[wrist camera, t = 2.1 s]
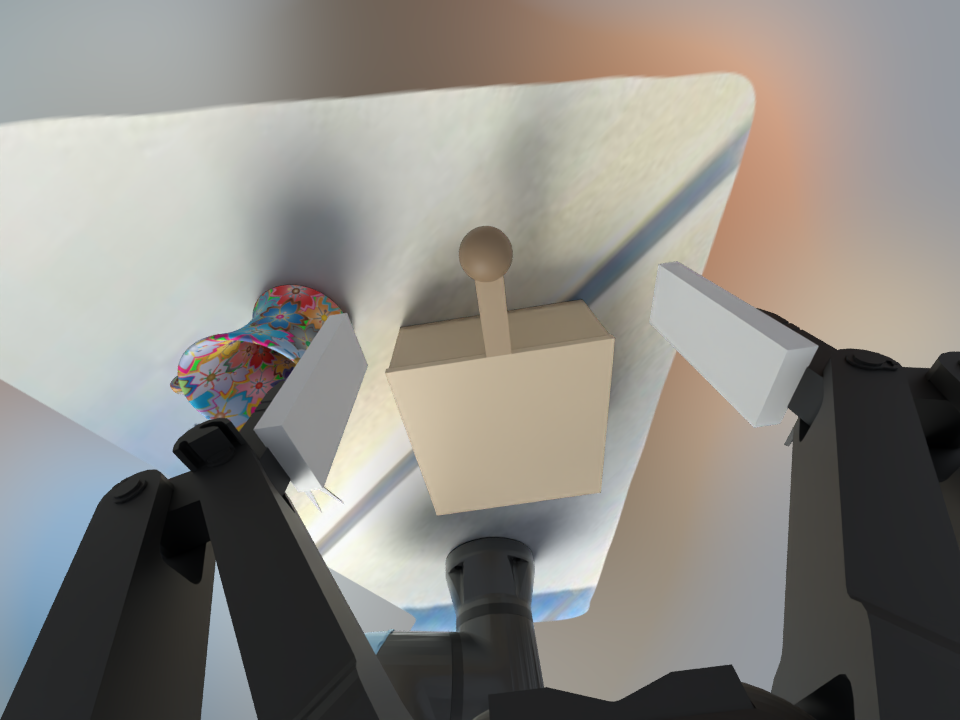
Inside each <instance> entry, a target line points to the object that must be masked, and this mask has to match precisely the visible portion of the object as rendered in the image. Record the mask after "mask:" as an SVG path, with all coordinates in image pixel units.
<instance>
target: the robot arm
mask: <svg viewBox="0 0 960 720" xmlns="http://www.w3.org/2000/svg"><path fill="white" fill-rule="evenodd" d="M649 323H650V324H651V325H652V326H653V327H654V328H655V329H656V330H657V331H658V332H659V333H660V334H661V335H662V336H663V337H664V338H665V339H666V340H667V341H668V342H669V343H670V344H671V345H672V346H673V347H674V348H675V349H676V350H677V351H678V352H679V353H680V354H681V355H682V356H683V357H684V358H685V359H686V360H687V361H688V362H689V363H690V364H691V365H692V366H693V367H694V368H695V369H696V370H697V371H698V372H699V373H700V374H701V375H702V376H703V377H704V378H705V379H706V380H707V381H708V382H709V383H710V384H711V385H712V386H713V387H714V388H715V389H716V390H717V391H718V392H719V393H720V394H721V395H722V396H723V397H724V398H725V399H726V400H727V401H728V402H729V403H730V404H731V405H732V406H733V407H734V408H735V409H736V410H737V411H738V412H739V413H740V414H741V415H742V416H743V417H744V418H745V419H746V420H747V421H748V422H749V423H750V424H751V425H752V426H753V427H762V426H769V425H776V424H780V423H781V421H782V419H783V417H784V415H785V413H786V411H787V409H788V408H789V409H790V410H791V411H792V412H794V413H795V414H796V415H797V416H798V419H797V421H796V423H795V425H794V427H793V429H792V431H791V433H790V435H789V436H788V439H787V440H786V442H785V444H784V445H786V446H789V445H790V444H791V442H793V451H792V472H791V492H790V512H789V531H788V551H787V571H786V590H785V611H784V631H783V649H782V656H781V661H780V664H779V667H778V669H777V672H776V675H775V677H774V681H773V686H772V690H771V693H770V692H768V691H765V690H763V689H761V688H758V687H755V686H752V685H749V684H747V683H743V682H741V681H740V679H739V677H738V675H737V673H736V672H735V670H734V668H733V666H732V665H724V666H716V667H708V668H700V669H692V670H684V671H675V672H670V673H669V674H667V675H665V676H663V677H661V678H660V679H658V680H656V681H654V682H652V683H651V684H649V685H647V686H645V687H643V688H641V689H639V690H638V691H636V692H634V693H632V694H630V695H629V696H627V697H625V698H623V699H621V700H619V701H615V702H610V701H605V700H601V699H596V698H592V697H587V696H582V695H578V694H574V693H570V692H565V691H561V690H556V689H551V688H547V687H546V688H544V685H543V679H542V672H541V666H540V660H539V655H538V649H537V643H536V637H535V631H534V625H533V619H532V613H531V601H532V592H533V583H534V573H535V566H534V560H533V555H532V552H531V550H530V549H529V548H528V547H527V546H526V545H524V544H522V543H520V542H518V541H515V540H511V539H505V538H485V539H479V540H474V541H471V542H468V543H465V544H463V545H461V546H459V547H457V548H456V549H454V550H453V551H452V552H451V553H450V554H449V556H448V557H447V559H446V581H447V584H448V588H449V591H450V595H451V598H452V602H453V606H454V609H455V613H456V632H431V631H394V629H391V630H388V631H385V632H368V633H365V634H364V632H363V631H362V629H361V627H360V625H359V623H358V622H357V620H356V618H355V616H354V614H353V613H352V611H351V609H350V607H349V605H348V604H347V602H346V600H345V598H344V596H343V595H342V593H341V591H340V589H339V587H338V585H337V583H336V582H335V580H334V578H333V576H332V574H331V573H330V571H329V569H328V567H327V565H326V564H325V562H324V560H323V558H322V556H321V554H320V553H319V551H318V549H317V547H316V545H315V544H314V542H313V540H312V538H311V536H310V535H309V533H308V531H307V529H306V527H305V525H304V524H303V522H302V520H301V518H300V516H299V515H298V513H297V511H296V509H295V507H294V505H293V504H292V502H291V500H290V498H289V497H288V496H287V494H286V493H285V490H286V488H287V486H288V484H289V482H290V481H291V482H292V484H293V485H294V487H295V488H296V489H297V491H298V492H305V491H312V490H319V489H323V487H324V485H325V482H326V479H327V476H328V474H329V471H330V468H331V465H332V463H333V460H334V457H335V455H336V452H337V449H338V446H339V444H340V441H341V438H342V435H343V433H344V430H345V427H346V424H347V422H348V419H349V416H350V413H351V411H352V408H353V405H354V402H355V400H356V397H357V394H358V391H359V389H360V386H361V383H362V381H363V378H364V375H365V372H366V370H367V367H368V364H367V362H366V359H365V357H364V354H363V352H362V349H361V347H360V344H359V342H358V339H357V337H356V334H355V332H354V329H353V327H352V324H351V322H350V319H349V317H348V314H347V313H343V314H336V315H330V316H329V317H328V318H327V320H326V321H325V323H324V324H323V326H322V327H321V329H320V330H319V332H318V333H317V335H316V336H315V338H314V339H313V341H312V342H311V344H310V345H309V347H308V348H307V350H306V351H305V353H304V354H303V356H302V357H301V359H300V360H299V362H298V363H297V365H296V366H295V368H294V369H293V371H292V372H291V374H290V375H289V377H288V378H287V380H285V381H280V382H279V383H277V384H276V385H275V386H274V387H273V388H271V389H270V390H269V391H268V392H267V393H266V395H265V396H264V398H263V399H262V400H261V404H259V405H258V406H257V408H256V409H255V410H254V411H255V412H254V413H252V415H251V416H250V417H249V419H248V420H247V422H246V423H245V424H244V426H243V427H242V429H241V430H240V431H238V430H237V429H236V427H235V426H234V425H233V423H232V422H231V421H230V420H229V419H227V418H216V419H211V420H208V421H206V422H203V423H201V424H198V425H197V426H195V427H193V428H192V429H190V430H188V431H187V432H186V433H185V434H184V435H182V436H181V437H180V438H179V439H178V441H177V442H176V443H175V445H174V447H173V453H174V454H175V455H176V456H177V457H178V458H179V459H180V460H181V461H182V462H183V463H184V464H185V465H186V466H187V467H188V468H189V469H190V471H189V472H187V473H184V474H181V475H178V476H176V477H173V478H170V479H167V478H166V477H165V476H164V475H163V474H162V473H161V472H159V471H158V470H146V471H143V472H139V473H137V474H134V475H132V476H130V477H128V478H126V479H124V480H122V481H121V482H120V483H118V484H116V485H115V486H114V487H113V488H112V489H111V490H110V491H109V492H108V493H107V494H106V495H105V496H104V497H103V498H102V500H101V501H100V502H99V504H98V506H97V508H96V510H95V512H94V515H93V517H92V519H91V521H90V523H89V526H88V528H87V530H86V532H85V534H84V537H83V539H82V541H81V543H80V545H79V548H78V550H77V552H76V554H75V556H74V559H73V561H72V563H71V565H70V567H69V570H68V572H67V574H66V576H65V578H64V581H63V583H62V585H61V587H60V589H59V592H58V594H57V596H56V598H55V600H54V603H53V605H52V607H51V609H50V611H49V614H48V616H47V618H46V620H45V623H44V625H43V627H42V629H41V631H40V633H39V636H38V638H37V640H36V642H35V645H34V647H33V649H32V651H31V653H30V656H29V658H28V660H27V662H26V665H25V667H24V669H23V671H22V673H21V675H20V677H19V680H18V682H17V684H16V686H15V688H14V691H13V693H12V695H11V697H10V699H9V702H8V704H7V706H6V708H5V711H4V713H3V715H2V717H1V719H0V720H201V708H202V699H203V688H204V677H205V667H206V657H207V645H208V635H209V625H210V614H211V604H212V593H213V582H214V572H215V562H217V566H218V570H219V574H220V578H221V581H222V585H223V589H224V593H225V596H226V600H227V604H228V608H229V612H230V616H231V619H232V623H233V626H234V631H235V634H236V638H237V642H238V646H239V650H240V653H241V657H242V661H243V665H244V668H245V672H246V676H247V680H248V684H249V687H250V691H251V695H252V699H253V703H254V706H255V710H256V714H257V718H258V720H960V352H947V353H943V354H941V355H940V356H939V357H938V359H937V360H936V361H935V363H934V364H933V366H932V367H931V368H911V367H902V366H901V365H900V364H899V363H898V362H896V361H895V360H893V359H891V358H889V357H887V356H884V355H881V354H879V353H875V352H871V351H867V350H860V349H840V350H837V349H835V348H833V347H832V346H830V345H828V344H826V343H825V342H823V341H821V340H819V339H818V338H816V337H814V336H813V335H811V334H809V333H807V332H806V331H804V330H800V328H799V327H797V326H795V325H794V324H792V323H788V321H786V320H785V319H783V318H781V317H780V316H778V315H776V314H774V313H771V312H768V311H765V310H762V309H758V308H754V307H753V306H751V305H750V304H748V303H746V302H744V301H742V300H741V299H739V298H738V297H736V296H734V295H733V294H731V293H729V292H728V291H726V290H724V289H723V288H721V287H719V286H718V285H716V284H714V283H712V282H711V281H709V280H708V279H706V278H704V277H703V276H701V275H699V274H698V273H696V272H694V271H693V270H691V269H689V268H688V267H686V266H684V265H683V264H681V263H679V262H678V261H676V262H669V263H663V264H659V265H658V271H657V277H656V284H655V290H654V296H653V303H652V309H651V316H650V322H649Z"/></svg>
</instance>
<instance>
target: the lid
mask: <svg viewBox="0 0 960 720" xmlns="http://www.w3.org/2000/svg"><path fill="white" fill-rule="evenodd" d="M512 257H513V251H512V246H511V243H510V241H509V239H508V237H507V236H506V235H505V234H504V233H503V232H502V231H500V230H499V229H497V228H494V227H490V226H481V227H477V228H475V229H473V230H471V231H470V232H469V233H468V234H467V235H466V236H465V237H464V239H463V240H462V242H461V245H460V249H459V260H460V264H461V266H462V268H463V270H464V271H465V273H466V274H467V275H468V276H469V277H471V278H472V279H474V280H475V286H476V292H477V299H478V305H479V312H480V318H481V324H482V331H483V337H484V344H485V350H486V354H481V355H474V356H468V357H461V358H455V359H448V360H441V361H435V362H428V363H422V364H415V365H409V366H402V367H396V368H389V369H386V372H385V374H386V377H387V379H388V382H389V385H390V388H391V390H392V393H393V396H394V399H395V401H396V404H397V407H398V410H399V412H400V415H401V418H402V420H403V423H404V426H405V429H406V431H407V434H408V437H409V440H410V442H411V445H412V448H413V451H414V453H415V456H416V459H417V462H418V464H419V467H420V470H421V473H422V475H423V478H424V481H425V483H426V486H427V489H428V492H429V494H430V497H431V500H432V503H433V505H434V508H435V511H436V514H437V516H438V515H445V514H452V513H460V512H467V511H474V510H481V509H488V508H495V507H502V506H509V505H516V504H523V503H530V502H537V501H545V500H552V499H559V498H566V497H573V496H580V495H587V494H594V493H601V484H602V474H603V463H604V452H605V441H606V430H607V419H608V408H609V398H610V387H611V376H612V365H613V354H614V343H615V338H614V336H613V335H605V336H599V337H592V338H586V339H579V340H573V341H566V342H559V343H553V344H546V345H540V346H533V347H527V348H520V349H514V350H511V343H510V334H509V324H508V315H507V305H506V296H505V286H504V277H503V275H504V274H505V273H506V272H507V271H508V269H509V267H510V265H511V262H512Z"/></svg>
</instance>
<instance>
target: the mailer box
mask: <svg viewBox="0 0 960 720" xmlns="http://www.w3.org/2000/svg"><path fill="white" fill-rule="evenodd" d="M507 315H508V324H509V334H510V343H511V350H514V349H520V348H527V347H533V346H540V345H546V344H553V343H559V342H566V341H573V340H579V339H586V338H592V337H599V336H605V335H609V333H608V332H607V331H606V330H605V328H604V327H603V326H602V324H601V323H600V322H599V320H598V319H597V318H596V317H595V315H594V314H593V313H592V311H591V310H590V309H589V307H588V306H587V305H586V303H585V302H584V301H583V300H582V299H581V300H574V301H568V302H561V303H555V304H548V305H542V306H536V307H529V308H523V309H516V310H510V311H507ZM481 354H486V350H485V344H484V337H483V331H482V324H481V318H480V315H478V316H471V317H465V318H458V319H452V320H446V321H439V322H433V323H426V324H420V325H413V326H407V327H401V328H400V330H399V334H398V337H397V341H396V345H395V348H394V352H393V355H392V359H391V363H390V366H389V368H396V367H402V366H409V365H415V364H422V363H428V362H435V361H441V360H448V359H455V358H461V357H468V356H474V355H481Z"/></svg>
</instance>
